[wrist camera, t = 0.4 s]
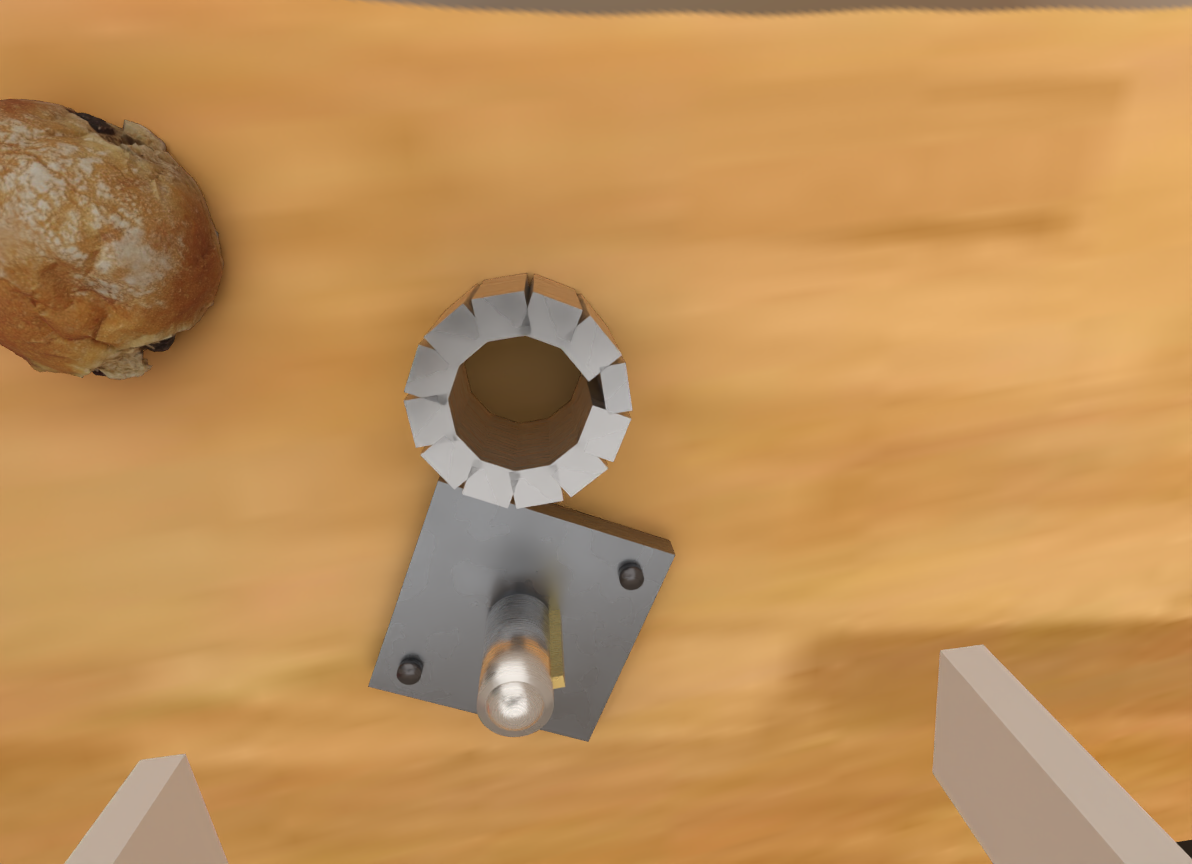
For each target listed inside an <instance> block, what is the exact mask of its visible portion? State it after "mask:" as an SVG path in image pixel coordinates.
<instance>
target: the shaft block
mask: <svg viewBox="0 0 1192 864" xmlns="http://www.w3.org/2000/svg"><path fill="white" fill-rule="evenodd" d="M464 484H465V481H464V482H463V483H462V484H461V485H460V486H458V487H457V488H456V489H455V490H454V489H453V488H452V487H451V486H450V485H449V484H448V483H447V482H446V481H445V480H444V479H443V478H442V477H441V476H440V477H439V480H438V483H437V486H436V489H435V492H434V495H433V498H432V501H431V504H430V506H429V509H428V512H427V515H426V518H425V521H424V524H423V527H422V530H421V533H420V536H419V539H418V542H417V545H416V548H415V551H414V554H413V556H412V559H411V562H410V565H409V568H408V571H407V574H406V577H405V580H404V583H403V586H402V589H401V592H400V595H399V598H398V601H397V604H396V606H395V609H394V612H393V615H392V618H391V621H390V624H389V627H388V630H387V633H386V636H385V639H384V642H383V645H382V648H381V651H380V654H379V656H378V659H377V662H376V665H375V668H374V671H373V674H372V677H371V680H370V683H369V686H368V687H372V688H376V689H380V690H384V691H388V692H392V693H396V694H400V695H404V696H408V697H412V698H416V699H420V700H424V701H428V702H432V703H436V704H440V705H444V706H448V707H452V708H456V709H460V710H464V711H468V712H472V713H476V714H478V716H479V718H480V720H481V722H482V723H483V724H484V725H485V726H486V727H487V728H488V729H489V730H491V731H493V732H494V733H497V734H499V735H503V736H508V737H520V736H525V735H529V734H532V733H534V732H536V731H538V730H539V729H540V730H544V731H548V732H552V733H556V734H560V735H564V736H568V737H572V738H576V739H580V740H584V741H589V739H590V737H591V735H592V733H593V730H594V728H595V726H596V724H597V722H598V720H599V718H600V715H601V713H602V711H603V709H604V707H605V705H606V703H607V700H608V698H609V696H610V694H611V692H612V690H613V688H614V685H615V683H616V681H617V679H618V677H619V675H620V673H621V670H622V668H623V666H624V664H625V662H626V660H627V658H628V655H629V653H630V651H631V649H632V647H633V645H634V643H635V640H636V638H637V636H638V634H639V632H640V630H641V628H642V625H643V623H644V621H645V619H646V617H647V615H648V613H649V610H650V608H651V606H652V604H653V602H654V600H655V598H656V595H657V593H658V591H659V589H660V587H661V585H662V583H663V580H664V578H665V576H666V574H667V572H668V570H669V568H670V565H671V563H672V561H673V559H674V557H675V553H674V550H673V548H672V545H671V543H670V541H669V540H666V539H663V538H660V537H657V536H653V535H650V534H647V533H644V532H641V531H638V530H635V529H631V528H628V527H625V526H622V525H619V524H616V523H612V522H609V521H606V520H603V519H600V518H597V517H594V516H590V515H587V514H584V513H581V512H578V511H575V510H571V509H568V508H565V507H562V506H559V505H556V504H552V503H548V504H542V505H536V506H531V507H525V508H519V509H516V505H515V500H514V495H513V496H512V499H511V501H510V504H509V507H508V508H505V507H502V506H498V505H495V504H492V503H489V502H486V501H482V500H479V499H476V498H473V497H470V496H466V495H463V494H462V491H463V487H464Z"/></svg>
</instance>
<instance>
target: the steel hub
mask: <svg viewBox="0 0 1192 864" xmlns="http://www.w3.org/2000/svg"><path fill="white" fill-rule="evenodd" d="M519 336H528V337H531V338H534V339H536V340H539V341H542V342H545V343H547V344H550V345H553V346H556V347H558V348H561V349H562V350H563V351H564V353H565V354H566V355H567V356H568V357H569V359H570V360H571V361H572V362H573V363H574V364H575V366H576V367H577V368H578V369H579V370H580V372H581V375H580V378H579V380H578V383H577V386H576V388H575V391H574V393H573V396H572V399H571V400H570V401H569V402H568V403H567V404H565V405H564V406H563V407H562V408H560V409H559V410H558V411H557V412H555V413H554V414H553V415H552V416H551V417H549V418H547V419H541V420H536V421H530V422H524V423H517V422H514V421H511V420H508V419H505V418H502V417H499V416H496V415H493V414H491V413H490V412H489V411H488V410H487V409H486V408H485V407H484V406H483V405H482V403H481V402H480V401H479V400H478V399H477V398H476V397H475V396H474V395H473V394H472V393H471V390H470V386H469V381H468V377H467V372H466V368H465V364H464V363H465V360H467V359H468V358H469V357H470V356H471V355H472V354H474V353H475V352H476V351H477V350H478V349H480V348H481V347H482V346H483V345H484V344H486V343H487V342H489V341H495V340H501V339H507V338H513V337H519ZM404 392H406V393H409V394H408V395H407V397H406V398H405V400H404V403H405V407H406V411H407V415H408V419H409V423H410V426H411V430H412V434H413V438H414V442H415V446H416V448H417V447H423V446H424V448H423V450H422V453H421V456H422V457H423V458H424V459H425V460H426V461H427V462H428V463H429V464H430V465H431V466H432V467H433V468H434V469H435V471H436V472H437V473H438V474H439V475H440V476H441V477H442V478H443V479H444V480H445V481H446V482H447V483H448V484H449V485H450V486H451V487H452V488H453V489H454V490H455V489H456V488H457V487H458V486H460V485H461V484H462V483H463V482H464V481H465V484H464V487H463V491H462V494H463V495H466V496H470V497H473V498H476V499H479V500H482V501H486V502H489V503H492V504H495V505H498V506H502V507H505V508H508V507H509V504H510V501H511V499H512V496H513V495H514V500H515V505H516V509H519V508H525V507H531V506H536V505H542V504H548V503H553V502H559V501H563V489H564V490H565V491H566V492H567V493H568V495H569V496H570V497H572V496H574V495H575V494H576V493H577V492H579V491H580V490H581V489H583V488H584V487H585V486H586V485H588V484H589V483H590V482H592V481H593V480H594V479H595V478H597V477H598V476H599V475H601V474H602V473H603V472H604V471H606V470H607V469H608V466H607V462H606V460H609V461H612V462H614V459H615V457H616V454H617V452H618V450H619V447H620V445H621V442H622V440H623V438H624V435H625V433H626V430H627V428H628V426H629V423H630V421H631V417H630V414H629V412H628V411H632V404H631V397H630V390H629V383H628V376H627V369H626V363H625V361H624V359H623V357H622V354H621V352H620V350H619V348H618V346H617V344H616V342H615V340H614V338H613V336H612V335H611V333H610V331H609V329H608V327H607V325H606V324H605V323H604V322H603V320H602V319H601V318H600V317H599V315H598V314H597V313H596V312H595V311H594V309H593V308H592V307H591V306H590V304H589V303H588V302H587V301H586V299H585V298H584V297H583V296H582V294H580V295H578V296H577V294H576V291H575V289H573V288H570V287H568V286H565V285H563V284H560V283H557V282H555V281H552V280H550V279H547V278H544V277H542V276H539V275H536V274H534V276H533V279H532V282H531V285H530V288H529V282H528V277H527V273H524V274H518V275H512V276H506V277H500V278H494V279H488V280H484V281H483V283H482V284H481V286H479V285H478V284H476V285H475V286H474V287H472V288H471V289H470V290H469V291H468V292H467V293H465V294H464V295H463V296H462V297H461V298H460V299H458V300H457V301H456V302H455V303H454V304H453V305H451V306H450V307H449V308H448V309H447V310H446V311H445V312H444V313H443V314H442V315H441V316H440V318H439V319H438V320H437V321H436V323H435V324H434V325H433V326H432V327H431V329H430V330H429V331H428V332H427V334H426V335H425V336H424V339H423V340H422V341H421V342H420V343H419V345H418V348H417V351H416V355H415V358H414V361H413V364H412V368H411V371H410V374H409V377H408V380H407V384H406V387H405V390H404ZM562 488H563V489H562Z"/></svg>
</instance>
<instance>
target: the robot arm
mask: <svg viewBox="0 0 1192 864" xmlns="http://www.w3.org/2000/svg"><path fill="white" fill-rule="evenodd" d="M933 774H934V776H935V777H936V779H937V780H938V782H939V783H940V785H941V786H942V788H943V789H944V791H945V792H946V794H947V795H948V797H949V798H950V800H951V801H952V803H953V804H954V806H955V807H956V809H957V810H958V812H959V813H960V815H961V816H962V818H963V819H964V821H965V822H966V824H967V825H968V827H969V828H970V830H971V831H972V833H973V834H974V836H975V837H976V839H977V840H978V842H979V843H980V845H981V846H982V848H983V849H984V851H985V852H986V854H987V855H988V857H989V858H990V860H991V861H992V863H993V864H1192V840H1188V841H1181V842H1175V841H1174V840H1173V839H1172V838H1171V837H1170V836H1169V835H1168V834H1167V833H1166V832H1165V831H1164V830H1163V829H1162V828H1161V827H1160V826H1159V825H1158V824H1157V823H1156V822H1155V821H1154V820H1153V819H1152V818H1151V816H1150V815H1149V814H1148V813H1147V812H1146V811H1145V810H1144V809H1143V808H1142V807H1141V806H1140V805H1139V804H1138V803H1137V802H1136V801H1135V800H1134V799H1133V798H1132V797H1131V796H1130V795H1129V794H1128V793H1127V792H1126V791H1125V790H1124V789H1123V788H1122V787H1121V786H1120V785H1119V784H1118V783H1117V782H1116V781H1115V780H1114V779H1113V777H1112V776H1111V775H1110V774H1109V773H1108V772H1107V771H1106V770H1105V769H1104V768H1103V767H1102V766H1101V765H1100V764H1099V763H1098V762H1097V761H1096V760H1095V759H1094V758H1093V757H1092V756H1091V755H1090V754H1089V753H1088V752H1087V751H1086V750H1085V749H1084V748H1083V747H1082V746H1081V745H1080V744H1079V743H1078V742H1077V741H1076V740H1075V739H1074V737H1073V736H1072V735H1071V734H1070V733H1069V732H1068V731H1067V730H1066V729H1065V728H1064V727H1063V726H1062V725H1061V724H1060V723H1059V722H1058V721H1057V720H1056V719H1055V718H1054V717H1053V716H1052V715H1051V714H1050V713H1049V712H1048V711H1047V710H1046V709H1045V708H1044V707H1043V706H1042V705H1041V704H1040V703H1039V702H1038V701H1037V700H1036V699H1035V697H1034V696H1033V695H1032V694H1031V693H1030V692H1029V691H1028V690H1027V689H1026V688H1025V687H1024V686H1023V685H1022V684H1021V683H1020V682H1019V681H1018V680H1017V679H1016V678H1015V677H1014V676H1013V675H1012V674H1011V673H1010V672H1009V671H1008V670H1007V669H1006V668H1005V667H1004V666H1003V665H1002V664H1001V663H1000V662H999V661H998V660H997V658H996V657H995V656H994V655H993V654H992V653H991V652H990V651H989V650H988V649H987V648H986V647H985V646H984V645H977V646H969V647H962V648H955V649H947V650H940V661H939V677H938V693H937V709H936V725H935V741H934V757H933ZM64 864H228V861H227V859H226V856H225V854H224V851H223V849H222V846H221V843H220V841H219V838H218V836H217V833H216V831H215V828H214V826H213V823H212V820H211V818H210V815H209V813H208V810H207V808H206V805H205V803H204V800H203V797H202V795H201V792H200V790H199V787H198V785H197V782H196V780H195V777H194V774H193V772H192V769H191V767H190V764H189V762H188V759H187V757H186V754H180V755H173V756H166V757H159V758H151V759H144V760H140V761H139V762H138V764H137V765H136V766H135V768H134V769H133V770H132V772H131V773H130V775H129V776H128V777H127V779H126V780H125V781H124V783H123V784H122V785H121V787H120V788H119V790H118V791H117V792H116V794H115V795H114V796H113V798H112V799H111V800H110V802H109V803H108V805H107V806H106V807H105V809H104V810H103V811H102V813H101V814H100V816H99V817H98V818H97V820H96V821H95V822H94V824H93V825H92V826H91V828H90V829H89V831H88V832H87V833H86V835H85V836H84V837H83V839H82V840H81V841H80V843H79V844H78V846H77V847H76V848H75V850H74V851H73V852H72V854H71V855H70V856H69V858H68V859H67V861H66V862H65V863H64Z"/></svg>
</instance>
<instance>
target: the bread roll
mask: <svg viewBox="0 0 1192 864" xmlns="http://www.w3.org/2000/svg"><path fill="white" fill-rule="evenodd" d="M223 266H224V262H223V259H222V257H221V248H220V245H219V241H218V232H217V231H216V230H215V227H214V225H213V223H212V220H211V218H210V214H209V210H208V207H207V205H206V202H205V200H204V197H203V195H202V193H201V191H200V189H199V188H198V186H197V184H196V182H195V180H194V179H193V178H192V177H191V176H190V175H189V174H188V173H187V172H186V171H185V170H184V169H183V168H181V167H180V166H179V164H178V163H177V162H176V161H175V160H174V159H173V158H172V156H171V155H170V154H169V153H168V152H166V146H165V143H164V142H163V141H162V140H161V139H159V138H158V137H157V136H155V135H154V134H153V133H152V132H151V131H149V130H148V129H146V128H145V127H143V126H142V125H140V124H137V123H134V122H130V121H127V120H124V125H123V129H121V128H119V127H117V126H114V125H112V124H110V123H107V122H105V121H103V120H102V119H99V118H96V117H94V116H91V115H89V114H86V113H77V112H75V111H74V110H73V109H71V108H67V107H65V106H62V105H59V104H54V103H48V102H43V101H36V100H25V99H6V100H0V344H1V345H2V346H4V347H6V348H8V349H9V350H11V351H13V352H14V353H15V354H16V355H18V356H20V357H22V358H24V359H25V360H26V361H27V362H28V363H29V364H30V365H31V366H32V367H33V368H34V370H36V371H39V372H46V371H48V372H54V373H66V374H71V375H74V376H78V377H81V378H83V377H84V375H88V374H89V373H91V372H93V373H94V374H95V375H100V376H107V377H108V378H110V379H118V380H121V379H126V378H129V377H140V376H142V375H143V374H144V373H145V372H146V371H148V370H150V369H151V367H152V366H151V365H148V362H147V359H145V358H142V357H143V350H146V349H149V350H151V351H154V352H157V351H165V350H168V349H169V348H170V346H171V345H172V343H173V342H174V339H175V335H176V333H177V332H180V331H184V330H190V328H191V327H194V326H195V324H196V323H197V322H198V321H199V320H200V319H201V318H202V316H203V315H204V313H205V312H206V310H207V309H208V307H210V306H212V305H213V304H214V298H215V296H216V293H217V290H218V287H219V284H220V280H221V277H222V270H223ZM109 345H110V346H109Z"/></svg>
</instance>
